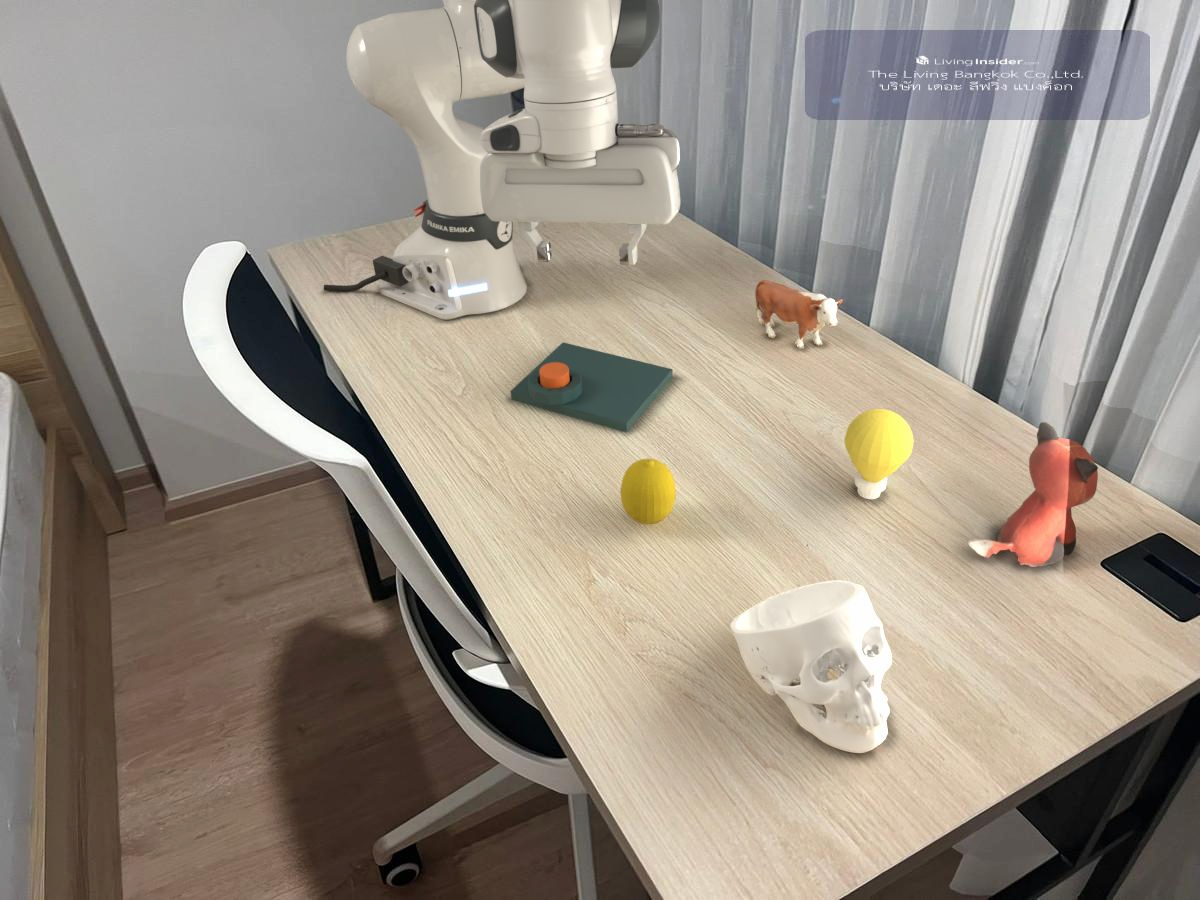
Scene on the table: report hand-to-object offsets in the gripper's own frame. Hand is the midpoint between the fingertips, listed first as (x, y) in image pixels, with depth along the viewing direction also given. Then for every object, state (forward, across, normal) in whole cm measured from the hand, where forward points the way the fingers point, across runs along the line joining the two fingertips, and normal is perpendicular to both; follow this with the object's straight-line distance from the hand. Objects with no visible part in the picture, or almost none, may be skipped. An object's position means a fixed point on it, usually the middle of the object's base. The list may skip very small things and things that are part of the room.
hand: (585, 261), depth 94 cm
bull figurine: (+21, -20, -26) cm, 39 cm away
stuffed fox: (+25, -45, +9) cm, 52 cm away
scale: (+20, +4, -9) cm, 22 cm away
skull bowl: (+25, -27, +30) cm, 48 cm away
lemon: (+23, -9, +14) cm, 28 cm away
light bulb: (+24, -30, +4) cm, 39 cm away
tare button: (+18, +7, -5) cm, 20 cm away
